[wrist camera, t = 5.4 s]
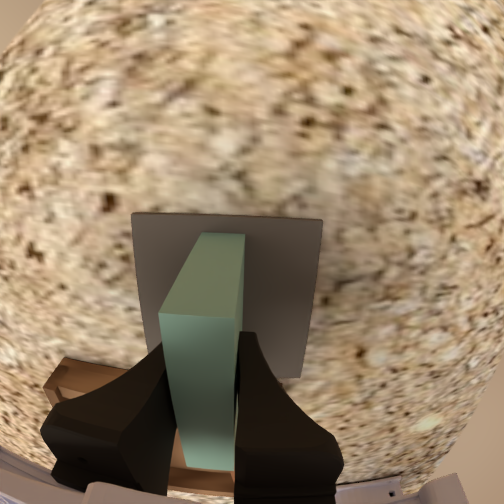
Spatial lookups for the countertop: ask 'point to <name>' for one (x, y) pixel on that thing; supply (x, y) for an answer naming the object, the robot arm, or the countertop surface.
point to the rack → (180, 476)
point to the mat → (255, 275)
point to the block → (206, 348)
